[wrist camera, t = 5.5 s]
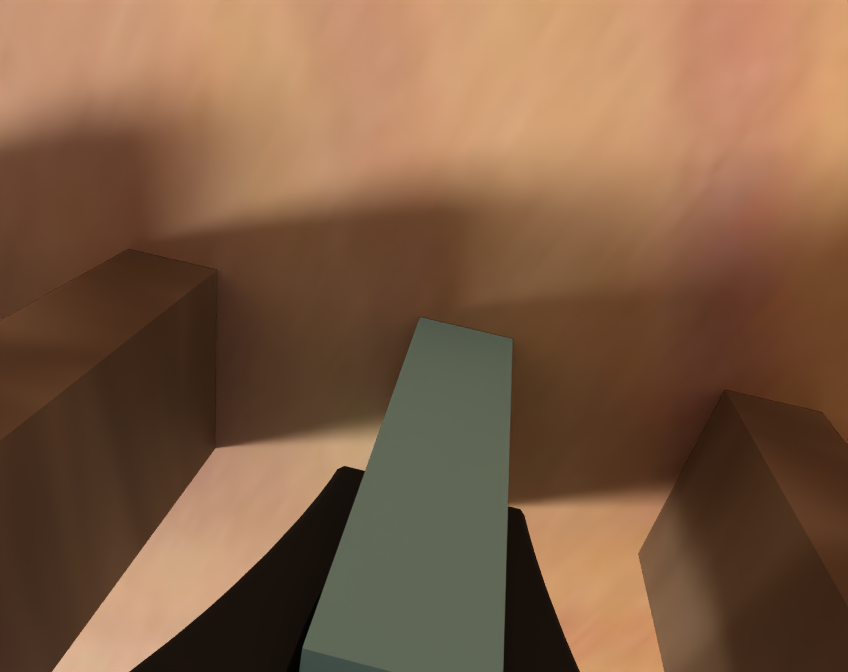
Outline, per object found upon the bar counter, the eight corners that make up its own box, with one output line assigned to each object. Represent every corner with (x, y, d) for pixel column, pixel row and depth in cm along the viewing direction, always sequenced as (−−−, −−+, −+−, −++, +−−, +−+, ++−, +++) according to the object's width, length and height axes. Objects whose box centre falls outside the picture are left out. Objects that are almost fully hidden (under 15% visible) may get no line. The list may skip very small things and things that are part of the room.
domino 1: (216, 269, 12) (-122, 536, 6) (215, 448, 15) (-27, 779, 8) (128, 249, 13) (-305, 489, 6) (140, 430, 15) (-159, 743, 8)
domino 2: (512, 338, 12) (503, 701, 6) (461, 509, 15) (413, 902, 8) (419, 317, 12) (302, 648, 6) (384, 490, 15) (273, 863, 8)
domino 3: (821, 412, 12) (1192, 881, 5) (718, 573, 14) (886, 1034, 8) (724, 389, 12) (971, 824, 5) (638, 554, 14) (736, 993, 8)
